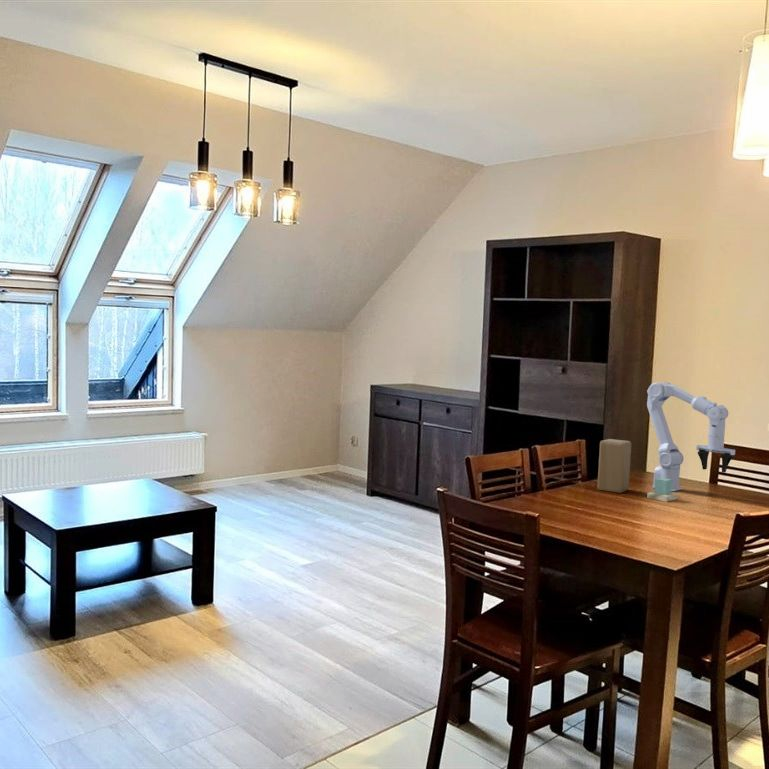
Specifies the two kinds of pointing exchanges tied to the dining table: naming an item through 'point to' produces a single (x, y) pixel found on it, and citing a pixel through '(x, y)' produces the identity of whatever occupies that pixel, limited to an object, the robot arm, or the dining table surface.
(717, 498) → the dining table surface
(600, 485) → the wooden block
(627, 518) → the dining table surface
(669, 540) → the dining table surface
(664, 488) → the teal block
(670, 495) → the cream block
